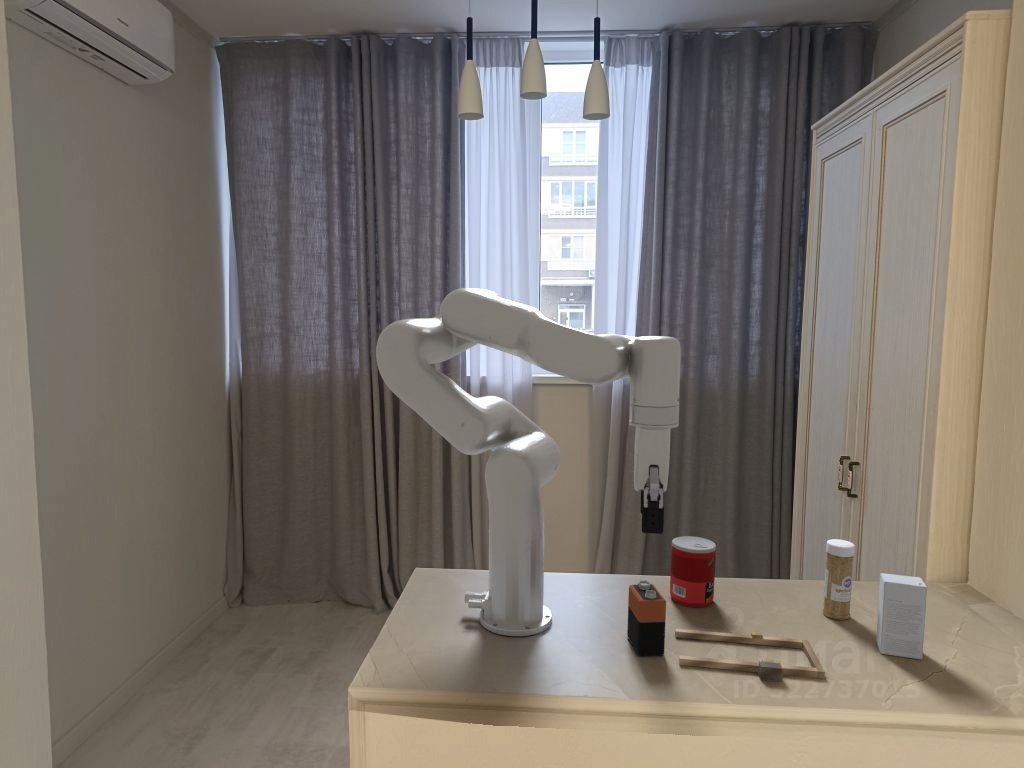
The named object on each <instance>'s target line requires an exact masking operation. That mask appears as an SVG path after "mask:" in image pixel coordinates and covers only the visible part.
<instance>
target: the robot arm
mask: <svg viewBox="0 0 1024 768" xmlns="http://www.w3.org/2000/svg"><path fill="white" fill-rule="evenodd" d="M440 304H441V305H440V306H439V314H438V315H436V316H434V317H432V318H431V317H430V318H429V317H428V318H427V317H426V318H425V317H423V318H420V317H419V318H417V317H416V318H403V319H400V320H396V321H394V322H392V323H390V324H388V325H387V326H385V328H384V329H382V331H381V332H380V334H379V336H378V339H377V343H376V346H375V349H376V350H375V356H376V357H375V358H376V365H377V368H378V371H379V374H380V376H381V378H382V380H383V382H384V383H385V385H386V386H387V387H388V388H389V390H390V391H391V392H392V393H393V394H394V395H395V396H396V397H397V398H398V399H399V400H401V401H402V402H403V403H405V405H407V406H408V407H409V408H410V409H412V410H413V411H414V412H415V413H416V414H417V415H418V416H420V417H421V418H422V419H423V421H424V422H426V423H427V424H428V425H429V426H431V428H433V429H434V431H436V432H437V433H438V434H439V435H440V436H441V437H443V438H444V439H445V440H446V441H447V442H448V443H449V444H450V445H451V446H453V447H454V448H455V449H456V450H458V451H459V452H460V453H462V454H464V455H467V456H468V455H469V456H476V455H479V454H483V453H486V452H487V451H489V450H490V451H492V453H491V455H490V456H489V458H488V460H487V461H486V466H485V469H484V482H485V488H486V496H487V501H488V502H487V503H488V591H483V592H482V593H480V592H474V591H465V593H464V603H467V604H468V605H467V607H468V608H469V609H481V610H480V611H479V622H480V625H481V626H482V627H483V628H485V629H486V630H488V631H490V632H491V633H494V634H497V635H502V636H506V637H507V636H508V637H527V636H532V635H537V634H540V633H541V632H544V631H545V630H547V629H548V628H550V626H551V625H552V622H553V613H552V611H551V610H550V609H549V607H547V606H546V605H544V584H545V582H544V577H545V509H544V504H543V502H544V501H543V497H542V488H543V486H545V485H547V484H548V483H550V481H552V480H553V479H554V478H555V477H556V476H557V475H558V473H559V472H560V469H561V466H562V453H561V450H560V448H559V446H558V444H557V443H556V441H555V440H554V439H553V437H551V436H550V435H549V434H548V433H547V432H545V430H544V429H542V428H541V427H539V425H537V424H536V423H535V422H534V421H533V420H531V419H530V417H528V416H526V415H525V414H524V413H523V412H522V411H521V410H519V409H518V408H517V407H516V406H515V405H514V404H512V403H511V402H509V401H508V400H506V399H505V398H501V397H499V396H496V395H485V396H480V397H474V396H473V395H471V394H470V393H468V392H467V391H465V390H464V389H463V388H462V387H461V386H459V385H458V384H457V383H456V382H455V381H454V380H453V379H452V378H450V377H449V376H447V375H446V374H444V373H443V372H441V371H439V370H437V369H436V368H434V366H432V365H433V364H439V363H443V362H445V361H448V360H450V359H452V358H454V357H456V356H458V355H460V354H461V353H463V352H465V351H467V350H469V349H471V348H473V347H474V346H477V345H478V344H479V345H483V346H486V347H488V348H491V349H493V350H497V351H501V352H503V353H507V354H508V355H512V356H515V357H518V358H520V359H521V360H523V361H525V362H527V363H528V364H529V363H530V364H531V365H534V366H535V367H537V368H539V369H541V370H545V371H546V372H550V373H553V374H555V375H558V376H560V377H564V378H566V379H569V380H573V381H576V382H579V383H583V384H586V385H593V386H601V385H605V384H609V383H611V382H615V381H619V380H623V379H625V380H626V379H629V417H628V418H629V419H628V420H629V422H628V424H629V426H631V427H635V435H634V457H633V458H634V459H633V460H634V462H633V463H634V465H633V472H634V473H633V484H634V485H633V487H634V490H635V491H636V492H640V511H639V512H640V514H641V532H642V533H643V534H654V535H655V534H656V535H657V534H659V535H662V534H663V533H664V527H665V526H664V522H665V520H664V519H665V518H664V517H665V507H663V506H664V502H663V501H664V499H663V497H664V495H663V494H664V493H665V492H667V490H668V483H669V480H668V479H669V472H670V469H669V468H670V456H671V455H670V453H671V451H670V449H671V430H672V429H674V428H675V429H676V428H678V427H679V423H680V422H679V421H680V420H679V417H680V415H679V414H680V386H681V385H680V384H681V383H680V380H681V377H680V376H681V355H682V354H681V352H682V348H681V344H680V341H679V340H678V338H676V337H673V336H663V335H662V336H661V335H660V336H659V335H657V336H656V335H647V336H645V335H644V336H638V337H637V336H630V335H623V334H617V333H605V334H595V333H589V332H586V331H582V330H580V329H577V328H572V327H570V326H567V325H563V324H561V323H558V322H555V321H553V320H552V319H549V318H547V317H546V316H545V315H543V313H542V312H541V310H539V309H537V308H536V307H533V306H531V305H527V304H523V303H519V302H517V301H516V302H515V301H512V300H509V299H506V298H502V297H500V296H499V295H498V293H496V292H494V291H491V290H490V289H485V288H484V289H483V288H473V287H469V288H468V287H461V288H456V289H455V290H453V291H452V290H451V292H449V293H448V294H447V295H446V296H444V299H443V300H442V302H441V303H440Z"/></svg>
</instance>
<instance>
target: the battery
mask: <svg viewBox="0 0 1024 768" xmlns="http://www.w3.org/2000/svg"><path fill="white" fill-rule="evenodd" d="M627 601H628V606H627V609H628V610H627V638H628V641H630V643H631V645H632V646H633V649H634V650H635V652H636V654H637V655H638V656H639V657H646V656H647V657H649V656H650V657H651V656H663V655H664V654H665V643H666V642H665V641H666V640H665V639H666V617H667V616H666V613H667V612H666V611H667V600H666V599H665V597H663V595H662V594H661V593H660V591H659V590H658V588H657V587H656V585H654V584H652V583H651V582H650V581H648V580H644V579H643V580H639V581H638V582H637V584H630V585H629V586H628V600H627Z"/></svg>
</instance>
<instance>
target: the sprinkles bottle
mask: <svg viewBox="0 0 1024 768" xmlns="http://www.w3.org/2000/svg"><path fill="white" fill-rule="evenodd" d="M825 546H826V547H825V552H826V559H825V560H826V561H825V569H824V570H825V571H824V586H823V608H822V614H823V615H824V616H826V617H828V618H830V619H832V618H833V620H839V621H842V620H843V621H844V620H848V619H849V618H850V617H851V613H850V611H851V610H850V609H851V600H852V589H853V588H852V587H853V584H852V583H853V582H852V581H853V565H854V564H853V563H854V556H856V555H855V552H856V551H855V550H856V544H854V543H853V542H851V541H848V540H845V539H839V538H837V539H836V538H833V539H828V540H827V541H826V545H825Z"/></svg>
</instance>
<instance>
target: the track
mask: <svg viewBox="0 0 1024 768" xmlns="http://www.w3.org/2000/svg"><path fill="white" fill-rule="evenodd" d="M674 637H675V638H682V639H691V640H703V641H714V642H715V641H716V642H727V643H735V644H736V643H738V644H740V643H741V644H747V643H748V644H749V645H759V646H760V645H761V646H770V647H771V646H773V647H785V648H793V649H794V648H795V649H796V648H797V649H802V650H803V652H804V654H805V657H806V658H807V660H808V662H809V664H810V666H811V667H810V666H799V665H791V664H790V665H789V664H788V665H787V664H781V663H780V662H774V660H773V659H766V658H762V659H761V660H760V661H758V662H756V661H747V660H746V661H745V660H744V661H743V660H733V659H725V658H723V659H722V658H713V657H702V656H701V657H700V656H689V655H678V665H680V666H689V667H699V668H700V667H701V668H710V669H720V670H721V669H722V670H731V671H743V672H755V673H758V677H759V680H763V681H773V682H783V681H782V680H783V675H784V676H785V675H786V676H795V677H807V678H816V679H817V678H818V679H825V677H826V671H825V669H824V668H823V666H822V663H821V662H820V660H819V658H818V657H817V655H816V653H815V651H814V649H813V647H812V645H811V643H810V641H809V640H808V639H798V638H789V637H776V636H764V635H763V632H760V631H759V632H757V631H751V634H741V633H731V632H730V633H728V632H717V631H706V630H695V629H693V630H692V629H686V628H685V629H684V628H683V629H682V628H675V629H674Z"/></svg>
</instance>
